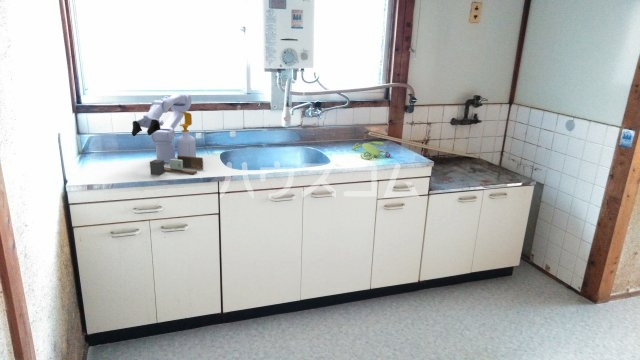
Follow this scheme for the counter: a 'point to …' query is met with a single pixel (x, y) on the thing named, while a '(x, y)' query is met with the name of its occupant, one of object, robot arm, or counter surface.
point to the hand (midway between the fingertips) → (140, 134)
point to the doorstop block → (157, 167)
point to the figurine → (371, 150)
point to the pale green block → (176, 164)
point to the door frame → (188, 164)
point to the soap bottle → (186, 139)
